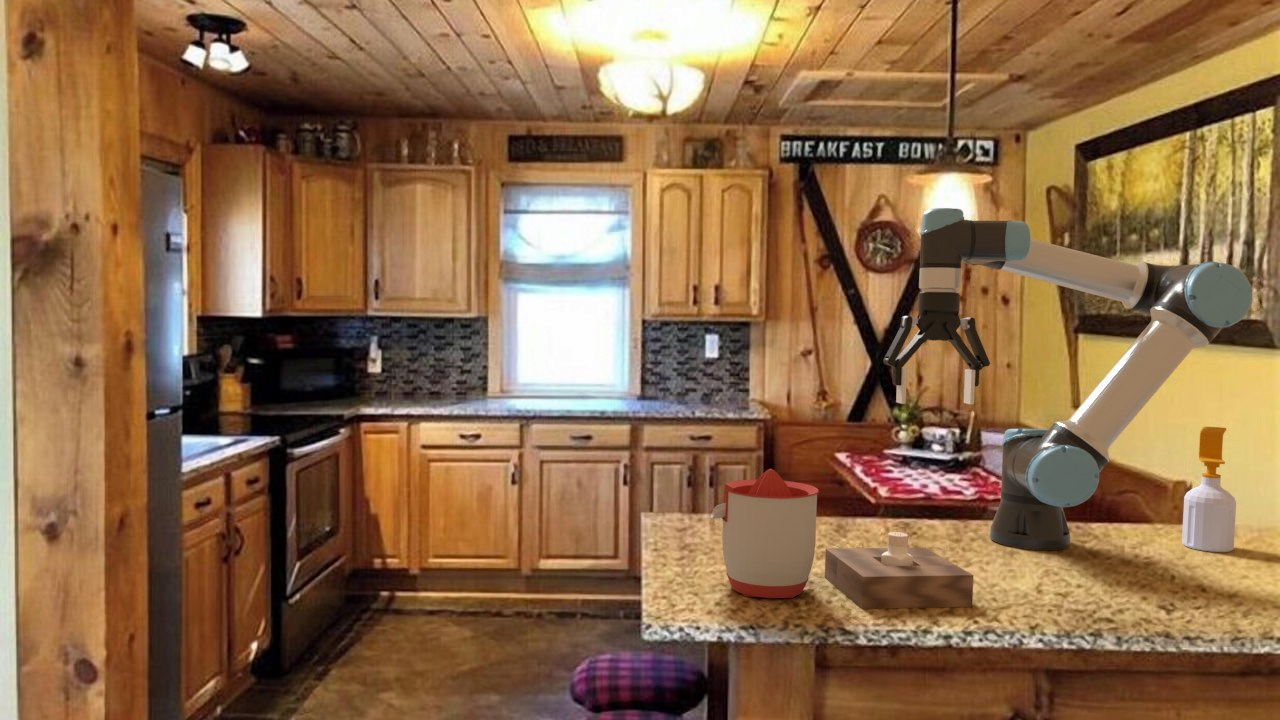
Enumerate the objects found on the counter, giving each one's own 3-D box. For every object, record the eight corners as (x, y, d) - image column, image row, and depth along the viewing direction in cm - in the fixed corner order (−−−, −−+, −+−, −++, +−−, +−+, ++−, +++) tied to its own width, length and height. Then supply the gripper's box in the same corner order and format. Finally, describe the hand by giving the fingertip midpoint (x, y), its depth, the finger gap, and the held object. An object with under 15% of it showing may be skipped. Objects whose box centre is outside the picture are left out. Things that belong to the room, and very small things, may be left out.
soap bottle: (1185, 549, 200) (1191, 427, 199) (1179, 540, 208) (1185, 422, 207) (1236, 555, 196) (1243, 430, 195) (1229, 545, 205) (1235, 425, 204)
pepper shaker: (892, 586, 168) (894, 530, 167) (913, 592, 165) (915, 534, 164) (878, 590, 165) (880, 533, 165) (899, 596, 162) (901, 538, 162)
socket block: (924, 575, 175) (925, 547, 175) (972, 606, 157) (973, 575, 157) (824, 577, 173) (825, 548, 172) (862, 608, 155) (863, 576, 155)
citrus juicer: (706, 575, 172) (709, 459, 171) (808, 578, 171) (812, 462, 170) (710, 602, 156) (713, 475, 155) (822, 606, 156) (826, 478, 155)
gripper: (991, 293, 195) (987, 402, 196) (868, 289, 191) (864, 400, 192) (1011, 292, 187) (1006, 405, 189) (883, 289, 184) (879, 404, 185)
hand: (934, 403), depth 190 cm, fingers open, 13 cm apart
